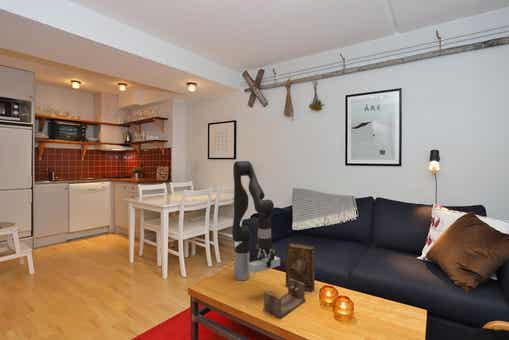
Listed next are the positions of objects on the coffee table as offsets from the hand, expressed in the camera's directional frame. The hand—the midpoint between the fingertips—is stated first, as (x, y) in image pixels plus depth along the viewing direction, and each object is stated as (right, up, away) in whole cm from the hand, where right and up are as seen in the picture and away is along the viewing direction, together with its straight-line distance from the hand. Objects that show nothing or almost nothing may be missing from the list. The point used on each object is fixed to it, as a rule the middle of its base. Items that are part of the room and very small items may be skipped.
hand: (264, 265), depth 148 cm
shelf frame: (+10, -18, -9) cm, 22 cm away
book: (+22, -17, +11) cm, 29 cm away
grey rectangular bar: (0, -1, 0) cm, 1 cm away
